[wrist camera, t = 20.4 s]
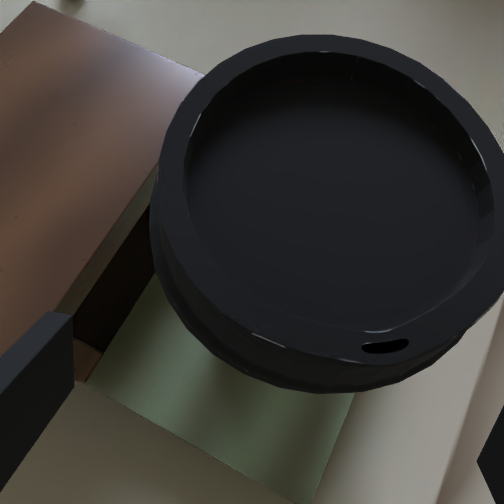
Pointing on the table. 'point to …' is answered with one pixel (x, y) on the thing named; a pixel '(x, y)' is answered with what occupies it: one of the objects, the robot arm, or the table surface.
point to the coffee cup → (328, 214)
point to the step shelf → (111, 238)
